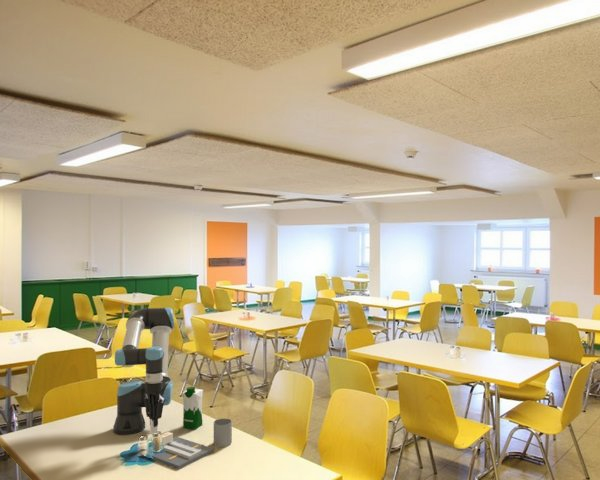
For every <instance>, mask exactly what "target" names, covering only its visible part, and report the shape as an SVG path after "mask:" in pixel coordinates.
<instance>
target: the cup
mask: <svg viewBox="0 0 600 480" xmlns="http://www.w3.org/2000/svg"><path fill="white" fill-rule="evenodd" d="M232 431H233V420H232V419H230V418H218V419H215V420H214V421H213V446H214V447H217V448H226V446H227V447H229V446H231V445H232V444H233V441H232V440H233V432H232ZM231 443H232V444H231Z"/></svg>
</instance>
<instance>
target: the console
mask: <svg viewBox="0 0 600 480" xmlns="http://www.w3.org/2000/svg"><path fill="white" fill-rule="evenodd" d="M163 448H164V449H165V450H166V451H165V452H163V453H159V454H158V453H157V454H154V455H153V456H152V457H153V459H154V460H153V461H155V462H157V463H161V464H163V465H166V466H168V467H171V468H174V469H177V470H181V469H184V468H185V467H186V466H189V465H190V464H193V463H194V462H197V461H199V460H200V459H203V458H205V457H206V456H209V455H210V454H212V453H214V452H215V451H214V450H215V449H214V448H213V447H210V446H208V445H204V444H201V443H199V442H195V441H192V440H188V439H185V438H182V437H179V436H175V437H173V441H172V442H170V443H168V445H164V447H163Z"/></svg>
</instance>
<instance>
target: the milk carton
mask: <svg viewBox="0 0 600 480" xmlns="http://www.w3.org/2000/svg"><path fill="white" fill-rule="evenodd" d="M203 393H204V389H202V388H201V389H199V388H195V387H193V386H189V387H186V390H185V391H183V392H182V399H183V406H182V407H183V408H182V409H183V411H182V413H183V418H182V429H187V430H192V431H196V430H197V429H199V428H200V427H201V426H202V425H203Z"/></svg>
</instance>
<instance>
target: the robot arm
mask: <svg viewBox="0 0 600 480" xmlns="http://www.w3.org/2000/svg"><path fill="white" fill-rule="evenodd" d="M174 317H175V316H174V310H173V309H172V308H171V307H154V308H153V307H151V308H150V307H149V308H147V307H146V308H145V307H144V308H140V309H138V310H136V311H134V312H133V313H132V314H130V315H129V317H128V318H127V320H126V322H125V329H126V331H125V334H124V338H123V343H122V345H121V348H120V349H116V350H115V353H114V364H115V365H116V366H118V367H120V366H123V367H125V366H135V365H136V366H139V365H140V366H141V365H145V383H144V382H143V380H141V379H133V380H128V381H126V382H125V381H124V382H122V383H121V384H119V385H118V387H117V392H116V393H117V394H116V398H117V400H116V406H117V407H116V409H117V410H116V418H115V421H114V424H113V428H112V432H113V433H114V434H117V435H123V436H125V435H133V434H138V433H139V432H142V431H144V430H145V429H146V420H145V418H144V415H143V408H145V415H146V417H147V418H149V419H148V420H149V426H150V431H149V433H150V435H155V434H157V433H158V426H159V419H161V418H162V417H163V415H162V414H163V410H164V407H165V406H169V405H170V404H171V402H172V397H173V392H174V391H173V389H174V381H173V380H171V377H170V376H169V374H168V373H169V371H168V369H169V345H170V344H169V340H170V337H169V336H170V334H171V333H172V330H173V329H175V318H174ZM144 330H149V333H150V334H152V337H151V338H152V339H151V340H152V341H151V346H150V347H145V348H144V347H143V348H139V345H140V341H141V336H142V332H143V331H144ZM154 433H155V434H154Z"/></svg>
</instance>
